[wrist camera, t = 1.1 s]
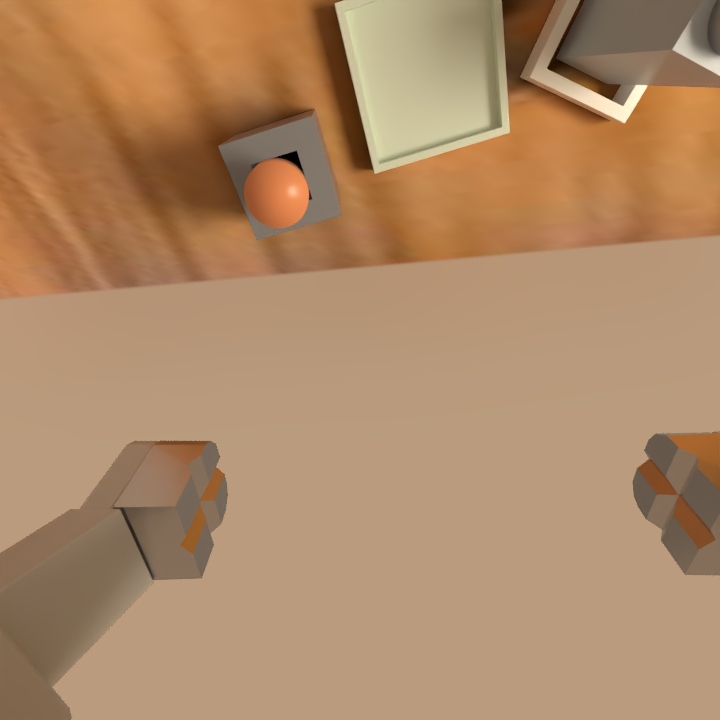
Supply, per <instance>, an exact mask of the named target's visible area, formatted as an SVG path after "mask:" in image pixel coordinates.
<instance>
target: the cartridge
mask: <svg viewBox="0 0 720 720" xmlns="http://www.w3.org/2000/svg"><path fill="white" fill-rule="evenodd" d="M556 59H558V60H560V61H562V62H564V63H566V64H568V65H570V66H572V67H574V68H576V69H578V70H580V71H582V72H584V73H586V74H588V75H590V76H592V77H594V78H596V79H598V80H600V81H602V82H604V83H606V84H621V85H653V86H685V87H716V88H720V0H584V2H583V4H582V6H581V8H580V10H579V12H578V14H577V16H576V18H575V20H574V22H573V24H572V26H571V28H570V30H569V32H568V34H567V36H566V38H565V40H564V42H563V44H562V46H561V49H560V51H559V53H558V55H557V57H556Z"/></svg>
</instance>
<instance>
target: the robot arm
mask: <svg viewBox="0 0 720 720" xmlns="http://www.w3.org/2000/svg"><path fill="white" fill-rule="evenodd" d="M644 451H645V452H646V454H647V456H648V458H649V460H647V461H646V462H645V463H643V464H642V465H641V466H639V467H638V468H637V470H636V473H635V476H634V479H633V491H634V497H635V500H636V502H637V505H638V507H639V509H640V510H641V512H642V513H643V515H644V516H645V518H646V519H647V520H648V521H650V522H652V523H653V524H655V525H656V526H658V527H659V528H661V529H662V536H661V541H662V542H663V544H664V545H665V547H666V548H667V549H668V551H669V552H670V554H671V555H672V557H673V558H674V560H675V561H676V562H677V564H678V565H679V567H680V568H681V570H682V571H683V572H684V574H685V575H720V432H712V433H709V432H705V433H666V434H664V433H663V434H655V435H654V436H653V437H651V438H650V439H649V441H648V443H647V445H646V448H645V450H644ZM219 458H220V456H219V453H218V449H217V446H216V444H215V443H213V442H212V441H134V442H132V443H130V444H128V445H127V446H126V447H125V448H124V449H123V451H122V452H121V454H120V455H119V456H118V457H117V459H116V460H115V462H114V463H113V464H112V466H111V467H110V468H109V470H108V471H107V472H106V474H105V475H104V476H103V478H102V479H101V481H100V482H99V483H98V485H97V486H96V487H95V489H94V490H93V491H92V493H91V494H90V496H89V497H88V498H87V500H86V501H85V502H84V504H83V505H82V506H81V508H80V509H70V510H69V511H67V512H66V513H64V514H62V515H61V516H59V517H58V518H56V519H54V520H53V521H51V522H49V523H48V524H46V525H45V526H43V527H41V528H40V529H38V530H37V531H35V532H34V533H32V534H30V535H29V536H27V537H25V538H24V539H22V540H21V541H19V542H17V543H16V544H14V545H13V546H11V547H9V548H8V549H6V550H5V551H3V552H1V553H0V720H71V718H72V717H71V713H70V709H69V707H68V706H67V704H66V703H65V702H64V701H63V700H62V699H61V697H60V696H59V695H58V694H57V693H56V691H55V690H54V689H53V688H52V687H53V686H54V685H55V683H57V682H58V680H60V679H61V677H63V675H64V674H65V673H66V672H67V671H68V670H69V669H70V668H71V667H72V666H73V665H74V664H75V663H76V662H77V661H78V660H79V659H80V658H81V657H82V656H83V655H84V654H85V653H86V652H87V651H88V650H89V649H90V648H91V647H92V646H93V645H94V644H95V643H96V642H97V641H98V639H100V638H101V636H102V635H103V634H104V633H105V632H106V631H107V630H108V629H109V628H110V627H111V626H112V625H113V624H114V623H115V622H116V621H117V620H118V619H119V618H120V617H121V616H122V615H123V614H124V613H125V612H126V611H127V610H128V609H129V608H130V607H131V606H132V605H133V604H134V602H136V601H137V600H138V598H139V597H141V595H142V594H143V593H144V592H145V591H146V590H147V589H148V588H149V587H150V586H151V585H152V584H153V583H154V582H153V580H167V579H195V578H202V576H203V573H204V570H205V567H206V565H207V562H208V559H209V556H210V554H211V551H212V548H213V545H214V544H213V541H212V537H211V534H210V533H211V532H212V531H214V530H215V529H216V528H217V527H218V526H219V525H220V524H221V523H222V520H223V517H224V514H225V511H226V504H227V496H228V493H227V482H226V478H225V474H224V473H222V472H221V471H220V470H219V469H218V468H216V465H217V463H218V460H219Z"/></svg>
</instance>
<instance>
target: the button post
mask: <svg viewBox="0 0 720 720" xmlns="http://www.w3.org/2000/svg"><path fill="white" fill-rule="evenodd" d="M218 148H219V150H220V153H221V155H222V158H223V160H224V162H225V165H226V167H227V170H228V172H229V174H230V177H231V179H232V182H233V184H234V186H235V189H236V191H237V193H238V196H239V198H240V201H241V203H242V205H243V208H244V210H245V213H246V215H247V217H248V220H249V222H250V225H251V227H252V229H253V232H254V234H255V237H256V239H257V240H259V239H262V238H266V237H269V236H272V235H276V234H279V233H283V232H286V231H289V230H293V229H296V228H299V227H303V226H306V225H310V224H313V223H316V222H320V221H323V220H327V219H330V218H333V217H337V216H340V215H341V209H340V197H339V192H338V188H337V185H336V181H335V178H334V174H333V171H332V167H331V164H330V160H329V157H328V153H327V150H326V146H325V143H324V139H323V136H322V132H321V129H320V125H319V122H318V118H317V115H316V111H315V109H313V110H310V111H307V112H304V113H301V114H298V115H295V116H292V117H289V118H286V119H283V120H280V121H276V122H273V123H270V124H267V125H264V126H261V127H258V128H255V129H252V130H249V131H246V132H242V133H239V134H236V135H235V136H233V137H231V138H230V139H228V140H227V141H225V142H224V143H222V144H220V145H219V146H218ZM296 150H297V153H298V156H299V159H300V162H301V165H302V168H303V172H304V175H305V178H306V180H307V182H308V186H309V201H308V206H307V209H306V212H305V213H304V215H303V217H302V218H301V219H300V220H299V221H298V222H297V223H295V224H294V225H292V226H289V227H285V228H273V227H269V226H267V225H264V224H263V223H261V222H259V221H258V220H257V219H256V218H255V217H254V216H253V215H252V214H251V212H250V211H249V209H248V207H247V205H246V202H245V198H244V186H245V182H246V179H247V177H248V175H249V174H250V172H251V171H252V170H253V169H254V167H255V166H256V165H258V164H259V163H260V162H262V161H264V160H266V159H270V158H274V157H277V156H281V155H284V154H287V153H290V152H293V151H296Z"/></svg>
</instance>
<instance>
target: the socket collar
mask: <svg viewBox="0 0 720 720" xmlns="http://www.w3.org/2000/svg"><path fill="white" fill-rule="evenodd" d="M579 2H580V0H556V1H555V3H554V5H553V7H552V10H551V12H550V14H549V16H548V18H547V20H546V22H545V24H544V27H543V29H542V31H541V33H540V35H539V37H538V39H537V42H536V44H535V46H534V48H533V50H532V52H531V54H530V56H529V59H528V61H527V63H526V65H525V67H524V69H523V71H522V74H521V76H520V78H522V79H524V80H527V81H529V82H531V83H533V84H535V85H537V86H539V87H541V88H543V89H545V90H547V91H550V92H552V93H554V94H556V95H558V96H560V97H562V98H564V99H566V100H568V101H570V102H572V103H575V104H577V105H579V106H581V107H583V108H585V109H587V110H589V111H591V112H593V113H595V114H598V115H600V116H602V117H604V118H606V119H608V120H610V121H615V122H621V123H625V122H626V120H627V119H628V117H629V115H630V114H631V112H632V111H633V109H634V107H635V106H636V104H637V102H638V101H639V99H640V97H641V96H642V94H643V93H644V91H645V89H646V88H647V86H648V85H620V87H619V89H618V91H617V92H616V94H615V96H614V97H613V99H612V101H611V100H609V99H607V98H605V97H603V96H601V95H599V94H597V93H595V92H593V91H591V90H589V89H587V88H585V87H583V86H581V85H579V84H577V83H575V82H573V81H571V80H569V79H567V78H565V77H563V76H561V75H559V74H556V73H554V72H552V71H550V70H548V69H547V67H548V65H549V63H550V61H551V59H552V57H553V55H554V53H555V51H556V49H557V47H558V44H559V42H560V40H561V38H562V36H563V34H564V32H565V30H566V28H567V26H568V24H569V22H570V20H571V18H572V16H573V14H574V12H575V10H576V8H577V6H578V4H579Z"/></svg>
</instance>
